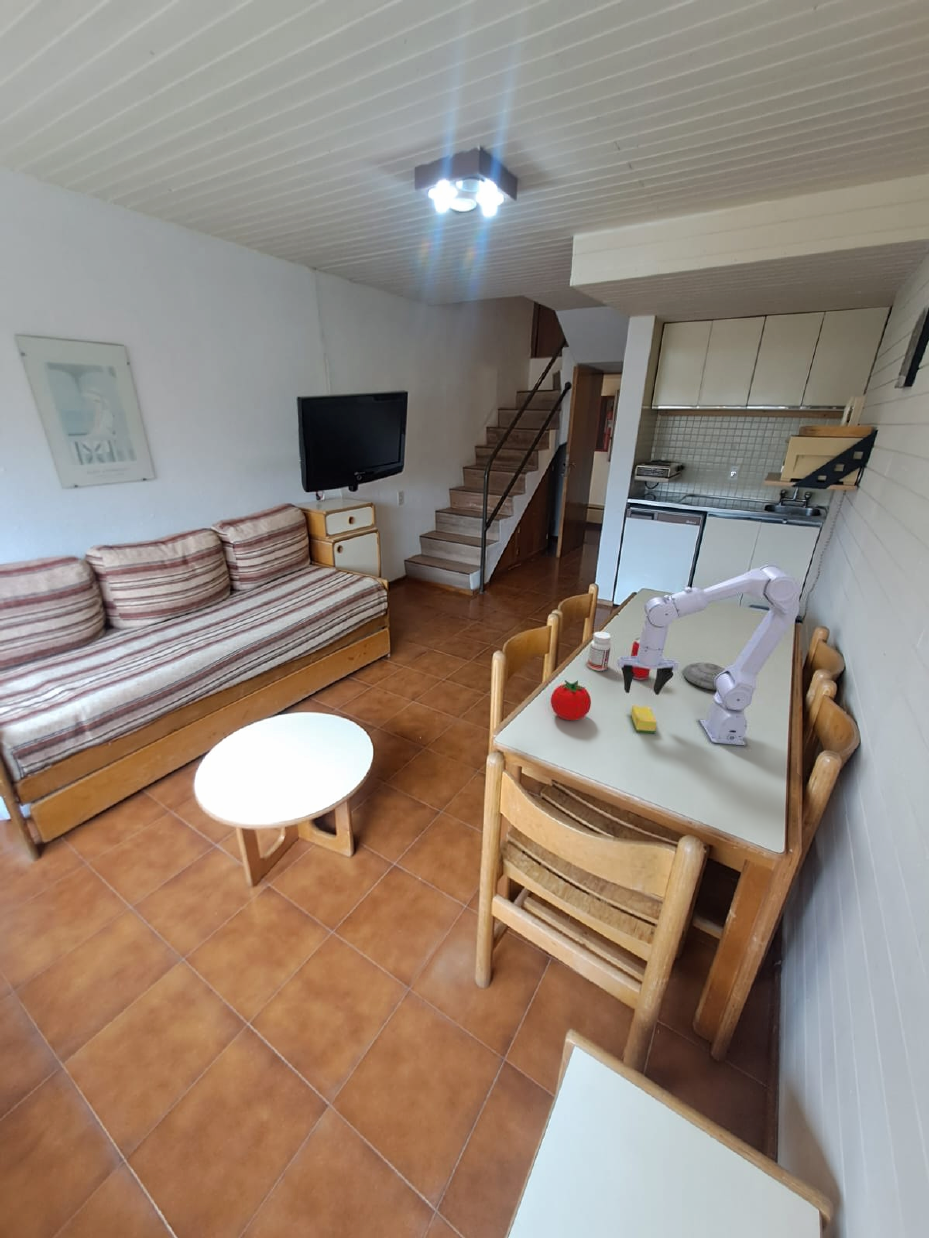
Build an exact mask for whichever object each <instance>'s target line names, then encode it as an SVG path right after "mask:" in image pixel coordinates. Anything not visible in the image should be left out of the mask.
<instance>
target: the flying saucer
mask: <svg viewBox="0 0 929 1238" xmlns="http://www.w3.org/2000/svg"><path fill="white" fill-rule="evenodd" d="M725 669H726V668H724V667H721V666H720V665H717V664H714V663H710V662H694V663H690V664H689V665H686V666H685V667H684V668H683V669H682V671H681V673H682V676H683V678H685V679H686V680H687V681H688V682H689V683H692V684H694V685H696V686H698V687H700V688H704V689H708V690H711V691H713V690H714V691H717V688H716V687H715V684H714V680H715V678H716V676H717V675H718V674H720V673H721V672H723V671H724V670H725Z"/></svg>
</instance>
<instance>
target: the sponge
mask: <svg viewBox="0 0 929 1238" xmlns="http://www.w3.org/2000/svg"><path fill="white" fill-rule="evenodd" d="M630 719H631V722H632V724H633V727H634V729H635V732H636V733H642V734H643V733H644V734H655V731H656V726H657V720H656V718H655V715H654V714H653V711H652V709H651V707H650V706H640V705H632V707H631V712H630Z"/></svg>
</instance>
